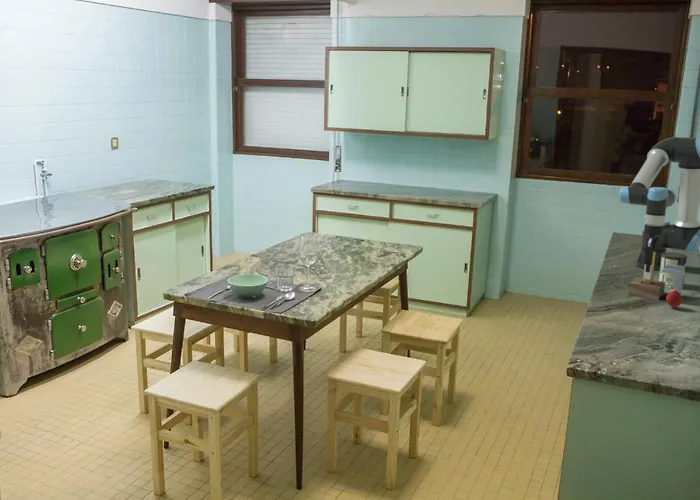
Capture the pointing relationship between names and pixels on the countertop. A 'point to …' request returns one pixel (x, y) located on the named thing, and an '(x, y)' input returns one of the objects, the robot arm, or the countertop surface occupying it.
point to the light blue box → (678, 273)
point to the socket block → (646, 289)
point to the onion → (674, 298)
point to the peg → (646, 281)
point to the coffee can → (675, 260)
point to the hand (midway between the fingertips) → (648, 277)
